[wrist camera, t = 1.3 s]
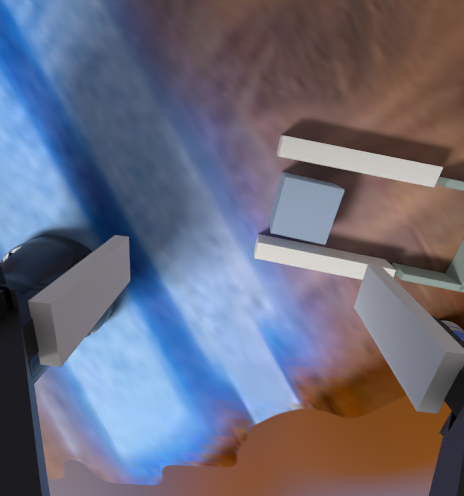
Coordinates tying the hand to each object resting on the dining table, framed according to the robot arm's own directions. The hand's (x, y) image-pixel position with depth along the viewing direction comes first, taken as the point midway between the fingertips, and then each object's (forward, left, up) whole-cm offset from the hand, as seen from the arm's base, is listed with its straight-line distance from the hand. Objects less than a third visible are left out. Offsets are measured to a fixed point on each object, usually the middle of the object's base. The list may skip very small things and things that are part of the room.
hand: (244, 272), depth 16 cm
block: (+6, +1, -19) cm, 20 cm away
